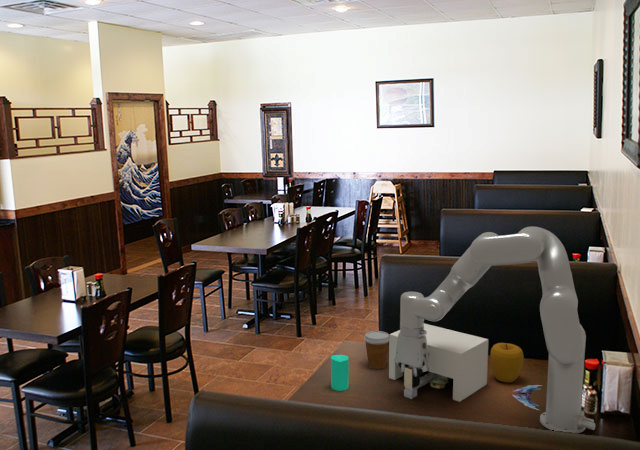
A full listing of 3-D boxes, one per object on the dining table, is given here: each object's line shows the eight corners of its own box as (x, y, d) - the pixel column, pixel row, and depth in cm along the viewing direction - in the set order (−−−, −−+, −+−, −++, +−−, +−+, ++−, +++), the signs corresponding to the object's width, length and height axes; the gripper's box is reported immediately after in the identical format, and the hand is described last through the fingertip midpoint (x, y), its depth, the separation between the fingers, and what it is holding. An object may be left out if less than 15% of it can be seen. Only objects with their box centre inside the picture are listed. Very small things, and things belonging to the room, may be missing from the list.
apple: (524, 376, 210) (525, 341, 208) (520, 388, 201) (522, 351, 199) (492, 371, 215) (493, 337, 213) (487, 382, 205) (488, 346, 203)
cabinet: (486, 384, 204) (488, 339, 202) (458, 402, 191) (459, 354, 188) (417, 363, 223) (418, 322, 221) (387, 378, 210) (387, 334, 207)
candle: (328, 388, 202) (327, 354, 200) (335, 382, 207) (335, 349, 205) (344, 392, 199) (343, 357, 197) (351, 385, 205) (351, 351, 203)
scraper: (416, 401, 192) (417, 371, 190) (399, 394, 197) (399, 365, 195) (448, 382, 206) (449, 355, 204) (430, 377, 210) (431, 350, 209)
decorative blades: (515, 380, 206) (546, 385, 202) (515, 382, 206) (546, 387, 202) (507, 403, 189) (540, 409, 184) (507, 405, 189) (540, 411, 185)
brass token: (447, 386, 204) (447, 382, 204) (439, 390, 200) (439, 387, 200) (435, 382, 207) (435, 378, 207) (427, 386, 204) (427, 383, 203)
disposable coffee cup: (361, 369, 218) (361, 337, 216) (367, 359, 227) (367, 329, 225) (387, 372, 215) (387, 340, 213) (391, 362, 224) (392, 331, 222)
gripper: (440, 333, 189) (438, 388, 192) (398, 322, 200) (397, 374, 203) (426, 339, 184) (425, 395, 187) (384, 327, 195) (383, 381, 198)
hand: (411, 384), depth 195 cm, fingers closed on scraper, 3 cm apart
